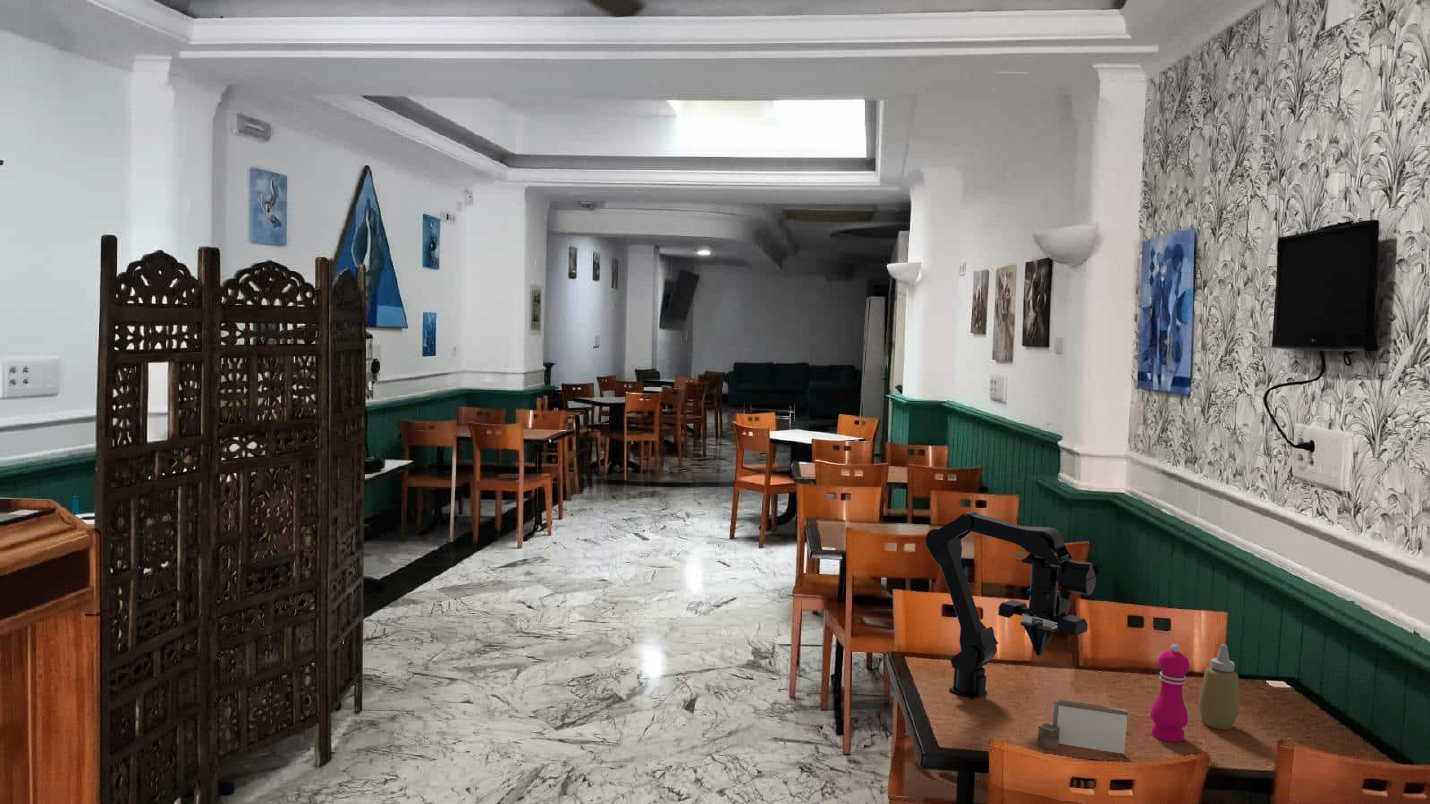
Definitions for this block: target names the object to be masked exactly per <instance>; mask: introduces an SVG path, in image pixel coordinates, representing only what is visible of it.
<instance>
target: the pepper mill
mask: <svg viewBox="0 0 1430 804" xmlns="http://www.w3.org/2000/svg"><path fill="white" fill-rule="evenodd" d="M1180 649H1181V648H1180V645H1178V644H1177V643H1176V644H1175V643H1173V644H1171V646H1170V650H1165V651H1163V652H1162V653H1161V654H1159V656H1158V660H1157V661H1158V663H1157V664H1158V667H1159V668H1160V670H1161V671H1160V672H1159V676H1158V677H1159V680H1160V681H1161V686H1160V690H1159V692H1158V695H1157V697H1156V699H1155V700H1154V702H1153V704H1152V706H1151V708H1150V709H1151V710H1150V717H1151V720H1152V721H1153V722H1154V723H1153V724H1152V725H1151V735H1152V736H1153V737H1155V738H1156V739H1159V740H1161V741H1165V742H1170V743H1181V742H1183V741H1184V739H1185V738H1184V737H1185V730H1184V729H1183V728H1185V726H1187V724H1188V722H1189V715H1188V710H1187V707H1186V705H1185V702H1184V697H1183V688H1184V687H1183V686H1184V685H1185V684H1186V678H1187V677H1186V674H1187V673H1188V672H1189V670H1190V660H1189V658H1188V657H1187V655H1185V654H1184V653H1182V652H1180Z"/></svg>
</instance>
